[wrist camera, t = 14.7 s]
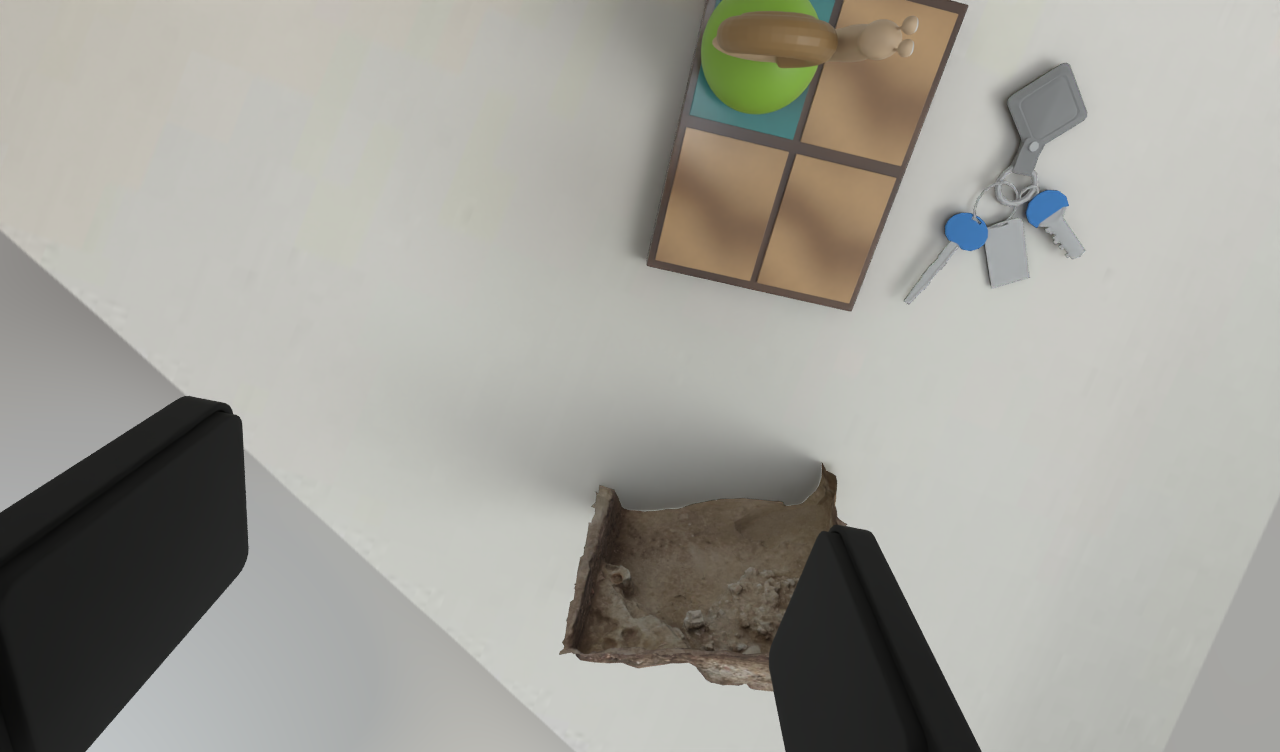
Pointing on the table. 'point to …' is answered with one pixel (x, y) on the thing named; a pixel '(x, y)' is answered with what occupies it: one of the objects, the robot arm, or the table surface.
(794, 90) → the snail figurine
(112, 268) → the table surface
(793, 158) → the game board
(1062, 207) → the key chain
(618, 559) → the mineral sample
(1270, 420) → the table surface
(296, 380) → the table surface
